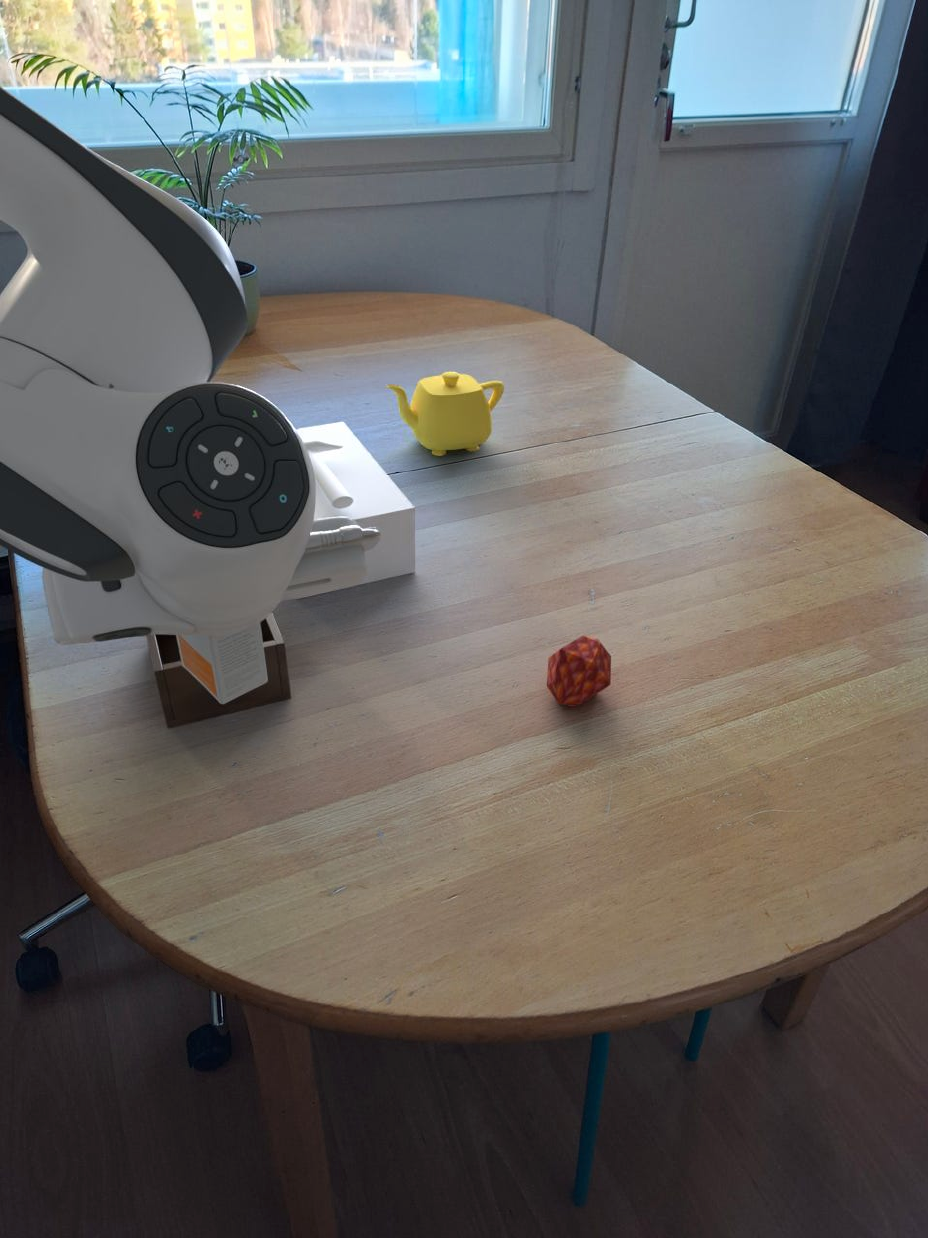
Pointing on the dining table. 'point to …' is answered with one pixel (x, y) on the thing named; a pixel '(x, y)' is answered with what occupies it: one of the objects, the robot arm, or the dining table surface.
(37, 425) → the robot arm
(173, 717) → the holder
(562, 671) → the decorative stone
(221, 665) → the cosmetic box
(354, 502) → the hammer relief block
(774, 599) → the dining table surface
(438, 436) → the teapot
